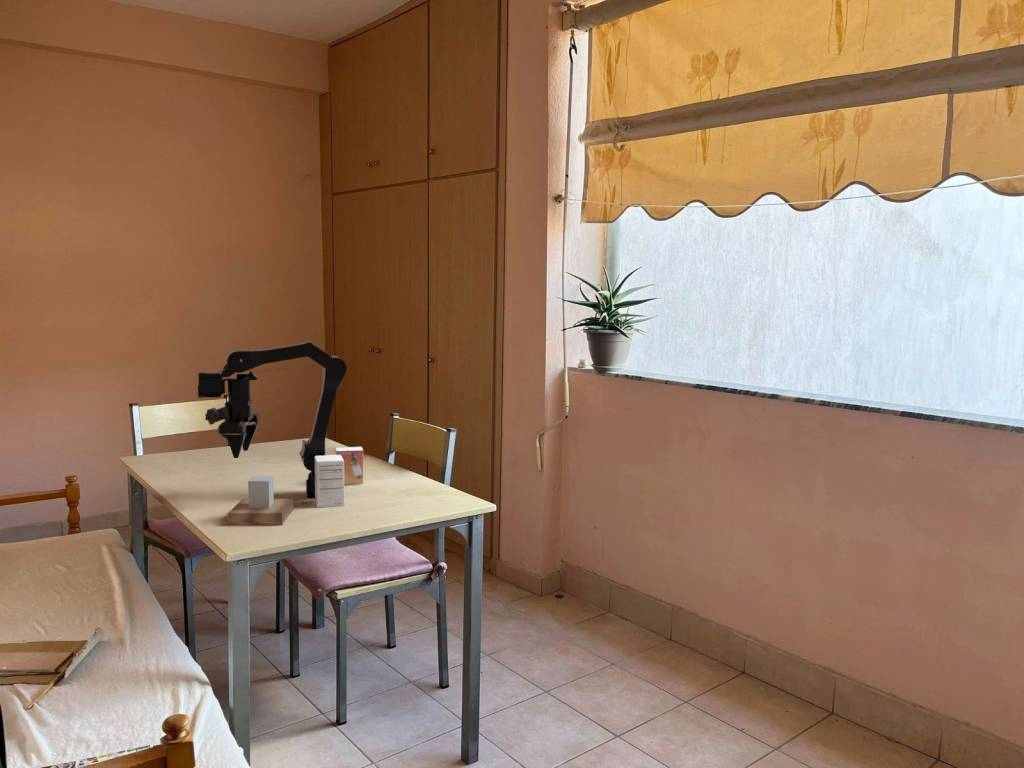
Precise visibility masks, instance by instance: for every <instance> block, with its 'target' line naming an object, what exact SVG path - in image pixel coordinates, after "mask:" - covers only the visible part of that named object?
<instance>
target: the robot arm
mask: <svg viewBox="0 0 1024 768" xmlns="http://www.w3.org/2000/svg"><path fill="white" fill-rule="evenodd" d="M300 358H310V360H313V361H314V362H315V363H317V364H318V365H320V366H321V367H322V369H321V370H322V371H321V376H322V377H321V381H322V385H321V391H320V396H319V400H318V404H317V408H316V411H315V412H316V413H315V416H314V420H313V421H314V422H313V424H312V430H311V434H310V436H309V438H308V439H307V440H305V439H303V440H302V442H301V450H300V451H299V453H298V454H299V456H300V460H301V462H302V464H303V467H305V469H306V470H308V471H310V472H309V473H308V474H307V478H306V479H305V491H306V493H305V494H306V498H307V499H308V498H309V499H310V498H311V499H313V498H314V499H315V456H323V455H326V436H327V432H328V428H329V425H330V424H329V423H330V420H331V417H332V412H333V409H334V408H333V407H334V402H335V398H336V395H337V391H338V389H339V387H340V385H341V383H342V381H344V377H345V375H346V372H347V369H348V368H347V363H346V361H345V360H344V359H342V358H341V357H339V356H337V355H330V354H328V353H326V351H323V350H322V349H321V348H319V347H318V346H316V344H315V343H313V342H312V341H304V342H302V343H295V344H288V345H282V346H278V347H277V346H276V347H271V348H265V349H264V348H263V349H252V348H251V349H246V348H245V349H244V348H243V349H242V348H241V349H239V348H238V349H237V348H236V349H233V350H231V351H230V352H229V353H228V354H227V357H226V364H225V365H224V366H223V367H222V368H221V370H220V372H204V371H199V372H198V375H197V376H198V384H197V398H198V399H214V398H215V399H217V398H222V396H221V395H223V394H226V384H225V383H226V382H227V400H226V401H225V403H224V406H223V407H220V408H217V409H216V408H215V407H212V408H209V409H206V410H207V411H206V413H205V414H204V415H205V417H204V418H205V421H207V422H208V424H209V425H210V426H211V425H214V424H216V423H217V422H220V421H222V422H221V423H220V424H219V425H218V427H217V430H218V435H220V437H223V438H225V439H226V440H227V443H228V444H229V447H230V450H231V453H232V456H233V457H232V458H233V459H238V458H239V457H240V454H241V450H243V451H244V452H245V451H246V452H247V451H249V448H250V446H251V445H252V444H251V443H252V441H253V439H254V436H255V433H256V432H257V429H258V427H259V425H260V424H259V423H261V415H260V414H259V413H258V412H257V411H252V404H253V401H254V400H253V399H251V398H252V397H251V396H252V393H251V381H257V380H258V376H257V375H255V374H254V372H253V371H252V369H255V368H257V367H260V366H263V365H266V364H272V363H278V362H284V361H289V360H295V359H300ZM247 371H249V372H247ZM244 372H247V373H244ZM234 374H236V376H233V375H234ZM231 376H233V377H231ZM223 420H224V421H223Z"/></svg>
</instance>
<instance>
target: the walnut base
mask: <svg viewBox="0 0 1024 768" xmlns="http://www.w3.org/2000/svg"><path fill="white" fill-rule="evenodd" d="M293 511H294V498H274V503H273V504H272V506H271V507H270V508H252V509H249V498H242V499H240V501H239V502H237V503H236V504H235V506H234V507H233V508H231V509H230V510H229V511H228V513H227V525H228V526H283V524H284V523H285V522H286V521H287V519H288V518H289V517H290V515H291V514H292V512H293Z"/></svg>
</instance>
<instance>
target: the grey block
mask: <svg viewBox="0 0 1024 768" xmlns="http://www.w3.org/2000/svg"><path fill="white" fill-rule="evenodd" d="M247 483H248V484H247V487H248V499H249V509H252V508H270V507H271V506H272V504H273V503H274V499H275V498H274V497H275V496H274V476H273V475H272V476H271V475H267V476H266V475H265V476H264V475H261V476H260V475H259V476H258V475H256V476H255V475H254V476H252V477H251V478H250V479H249V480H248V481H247Z"/></svg>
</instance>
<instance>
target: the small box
mask: <svg viewBox="0 0 1024 768" xmlns="http://www.w3.org/2000/svg"><path fill="white" fill-rule="evenodd" d="M334 449H335V450H334V451H335V453H334V455H341V456H342V458H343V460H344V486H346V485H347V486H349V485H350V486H351V485H352V486H354V485H357V486H358V485H359V484H363V485H364V449H363V447H362V446H350V447H335V448H334Z"/></svg>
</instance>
